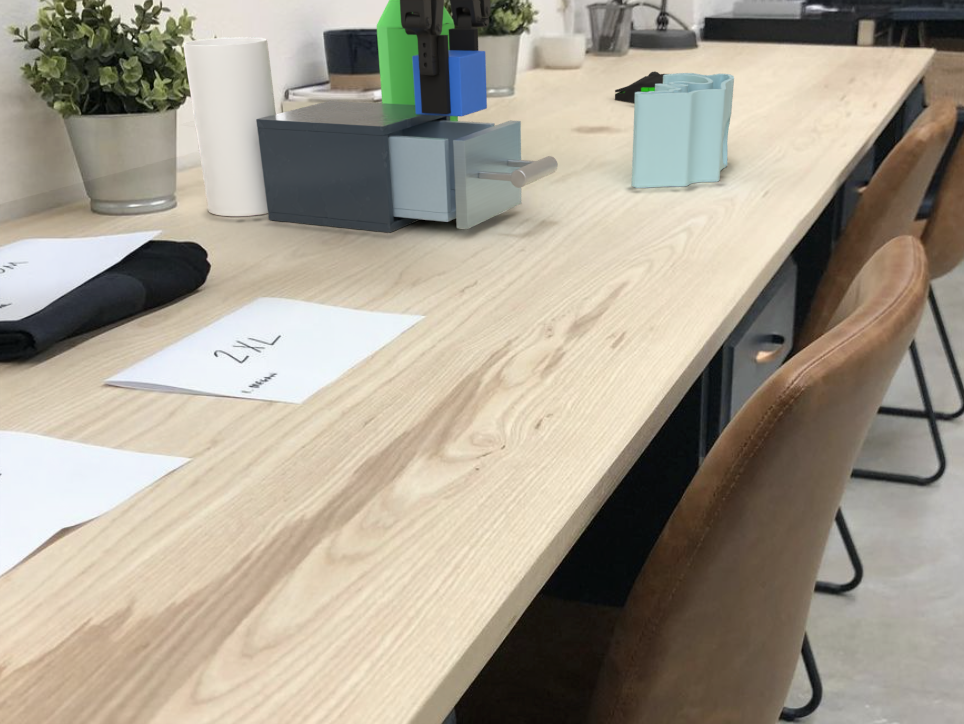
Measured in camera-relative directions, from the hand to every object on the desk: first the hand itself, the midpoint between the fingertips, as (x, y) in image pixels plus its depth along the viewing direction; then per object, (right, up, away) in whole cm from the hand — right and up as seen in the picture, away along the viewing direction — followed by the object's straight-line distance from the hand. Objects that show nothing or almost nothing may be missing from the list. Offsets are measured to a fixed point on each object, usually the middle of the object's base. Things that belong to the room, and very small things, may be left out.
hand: (451, 107), depth 105 cm
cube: (0, 0, 0) cm, 0 cm away
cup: (-22, -5, +14) cm, 26 cm away
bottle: (-4, +5, +29) cm, 30 cm away
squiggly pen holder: (+26, +2, +23) cm, 35 cm away
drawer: (0, -8, +5) cm, 10 cm away
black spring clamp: (+31, +31, +70) cm, 83 cm away
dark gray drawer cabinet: (-9, -7, +10) cm, 15 cm away
